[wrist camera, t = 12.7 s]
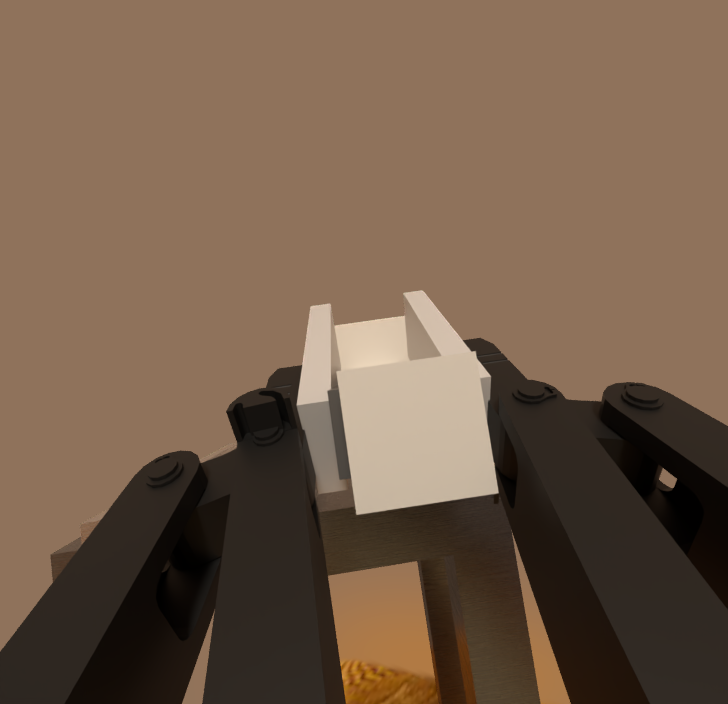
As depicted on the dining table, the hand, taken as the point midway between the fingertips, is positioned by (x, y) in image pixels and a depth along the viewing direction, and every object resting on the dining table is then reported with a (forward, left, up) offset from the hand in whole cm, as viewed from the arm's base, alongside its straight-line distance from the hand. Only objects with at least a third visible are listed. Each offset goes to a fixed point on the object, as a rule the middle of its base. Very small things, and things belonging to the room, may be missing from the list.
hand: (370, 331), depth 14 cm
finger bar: (-1, +2, -4) cm, 4 cm away
